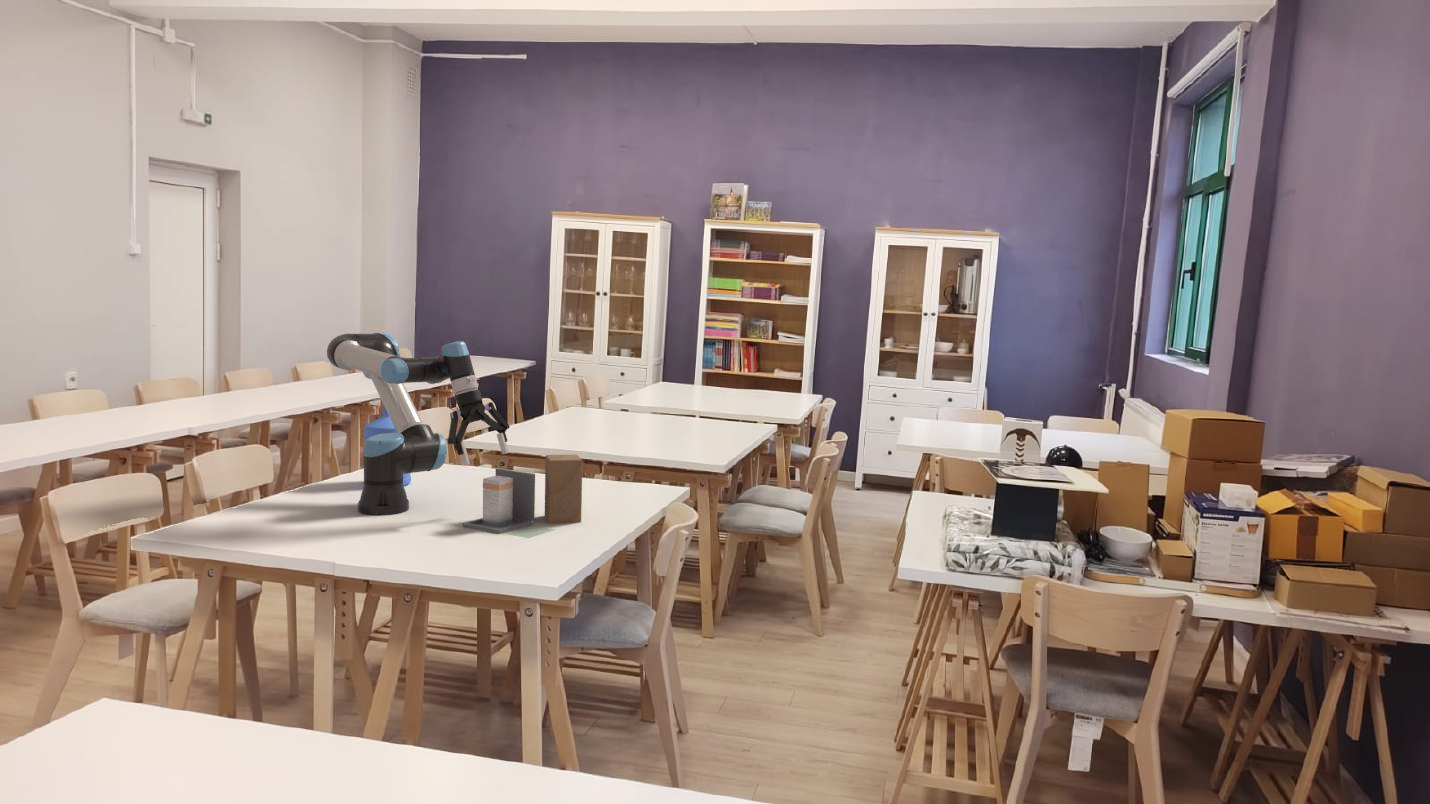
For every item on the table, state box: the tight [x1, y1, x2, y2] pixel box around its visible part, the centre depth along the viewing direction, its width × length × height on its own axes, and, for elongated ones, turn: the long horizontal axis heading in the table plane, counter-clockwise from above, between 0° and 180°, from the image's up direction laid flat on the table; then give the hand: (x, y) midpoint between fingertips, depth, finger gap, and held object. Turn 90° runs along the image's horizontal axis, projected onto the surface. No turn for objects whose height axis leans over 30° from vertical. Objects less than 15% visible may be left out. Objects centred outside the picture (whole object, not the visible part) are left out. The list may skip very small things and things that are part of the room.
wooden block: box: [544, 454, 583, 524], centre depth 300 cm, size 10×10×20 cm
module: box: [482, 475, 513, 529], centre depth 289 cm, size 6×6×14 cm
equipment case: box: [462, 467, 536, 535], centre depth 289 cm, size 14×15×16 cm
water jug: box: [363, 404, 412, 487], centre depth 346 cm, size 16×16×28 cm
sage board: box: [506, 525, 556, 539], centre depth 284 cm, size 8×12×1 cm, turn 152°
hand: (486, 459), depth 301 cm, fingers open, 13 cm apart
